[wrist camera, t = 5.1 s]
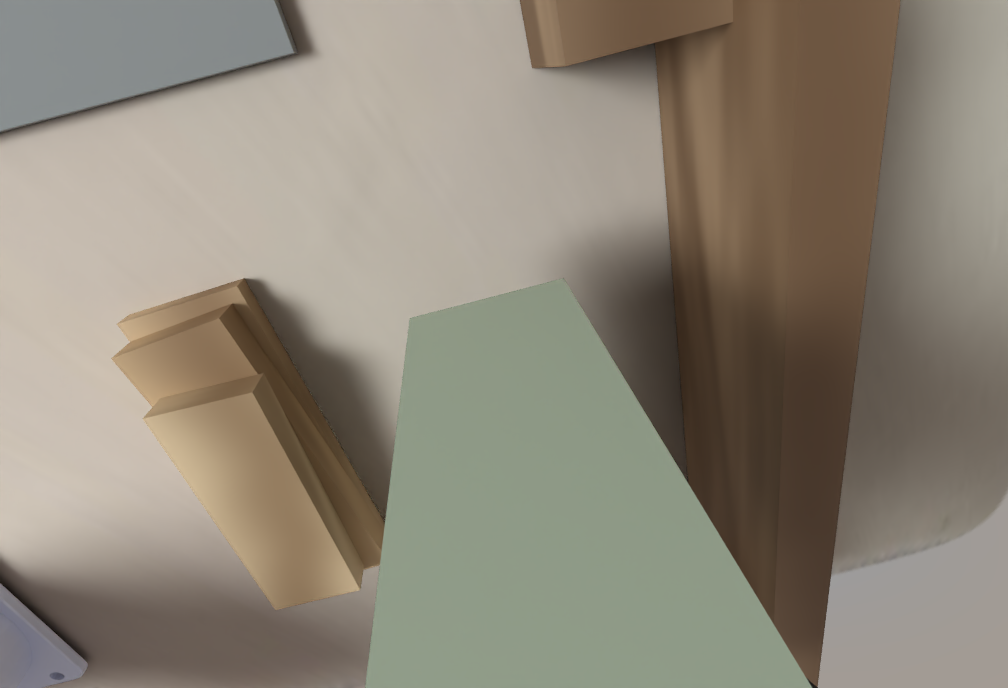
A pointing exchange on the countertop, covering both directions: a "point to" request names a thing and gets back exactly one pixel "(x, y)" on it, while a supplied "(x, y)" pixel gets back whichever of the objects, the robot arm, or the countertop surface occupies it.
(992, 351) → the countertop surface
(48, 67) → the slate mat
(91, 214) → the countertop surface
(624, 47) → the walnut rack
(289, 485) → the offcut stack
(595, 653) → the tall sage green prism
